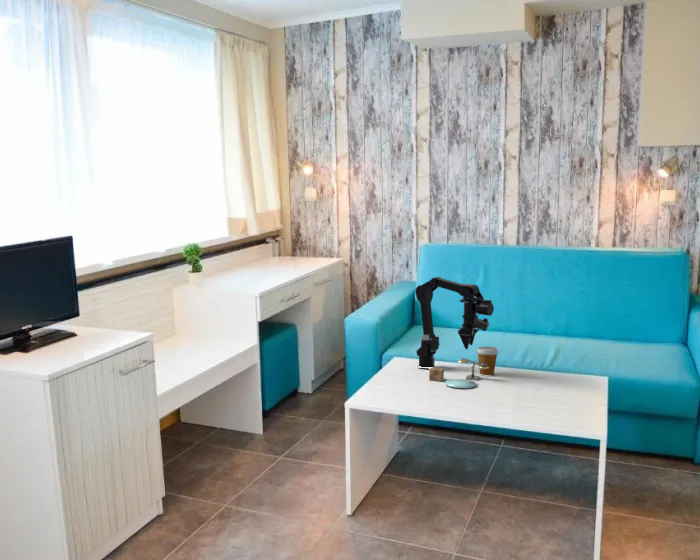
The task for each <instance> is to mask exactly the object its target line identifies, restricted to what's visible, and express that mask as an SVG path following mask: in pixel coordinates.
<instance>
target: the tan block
mask: <svg viewBox="0 0 700 560" xmlns="http://www.w3.org/2000/svg"><path fill="white" fill-rule="evenodd" d="M444 369H445V368H443V367H435V366H434V367H433V368H431V369H428V370H429V373H428V374H429V375H428V376H429V377H428V379H429V382H430V381H431V382H437V383H442V381H443V380H444V378H445V377H444V376H445V375H444V373H445V370H444Z"/></svg>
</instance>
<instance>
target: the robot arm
mask: <svg viewBox="0 0 700 560" xmlns="http://www.w3.org/2000/svg"><path fill="white" fill-rule="evenodd" d="M438 288H442V289H444V290H448V291H451V292H454V293H457V294H458V295H460V296H461V297H462V298H461V299H460V300H459V303H463V315H462V318H463V320H462V321H463V322H462V324H461V327H460V328H458V330H457V335H458V336H459V337H460V340H461V342H462V344H463V347H464V349H465V350H468V349H469V346H472V345H473V344H474V342H475V341H474V340H475V338H476V337H475V336H476V334H477V332H479V331H480V330H482V331H483V332H486V331H487V330H488V328H489V327H490V322H489V319H488V318H486V317H484V318H483V319H482V318H479V315H483V316H489V317H490V316H492V315H493V314H494V309H495V307H494V304H493V301H492V300H491V299H485V298H484V296H483V294H482V293H481V291H480V287H479V286H478V285H476V284H473V283H459V282H456V281H452V280H449V279H446V278H442V277H440V276H436V277H432V278H431V279H429V280H428V281H426V282H424V283H422V284H420V285H418V286H416V288H415V291H414V293H415V296H416V299H417V301H418V303H419V305H420V313H421V322H422V323H421V324H422V333H423V335H422V338H421V341H420V343H421V344H420V347H419V348H417V350H416V352H415V353H416V356H418V367H419V366H421V367H435V362H436V361H435V359H436V358H435V357H434V355H436V353H437V350H439V348H440V345H441V343H440V337H439V336H436V334H435V332H434V331H435V330H434V323H433V313H432V312H433V311H432V301H433V298H434V292H435V291H436V290H437V289H438Z"/></svg>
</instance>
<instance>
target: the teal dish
mask: <svg viewBox="0 0 700 560" xmlns="http://www.w3.org/2000/svg"><path fill="white" fill-rule="evenodd" d="M445 386H448V387H450V388H454V389H470V388H474V387H476V386H477V383H476V382H475V380H469V379H466V378H452V379H447V380H445Z"/></svg>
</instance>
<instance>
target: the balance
mask: <svg viewBox="0 0 700 560" xmlns="http://www.w3.org/2000/svg"><path fill="white" fill-rule="evenodd" d="M457 363H458V364H468V363H470V364H471V373H470V374H467V376H466V377H465V379H467V380H471V381H478V380H479V379H480V378H481V377H480V376H481V375H475V365H477V366H478V369H479V368H480V369H488V368H489V367H488V366H486V363H482V364H481V363H479V361H478V362H477V361H475V360H471V359H468V358H464V357H462V358H461V359H458V360H457ZM479 365H480V366H479ZM479 377H480V378H479Z"/></svg>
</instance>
